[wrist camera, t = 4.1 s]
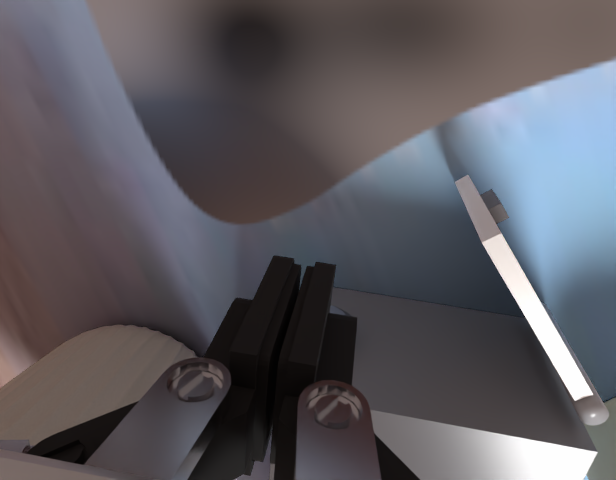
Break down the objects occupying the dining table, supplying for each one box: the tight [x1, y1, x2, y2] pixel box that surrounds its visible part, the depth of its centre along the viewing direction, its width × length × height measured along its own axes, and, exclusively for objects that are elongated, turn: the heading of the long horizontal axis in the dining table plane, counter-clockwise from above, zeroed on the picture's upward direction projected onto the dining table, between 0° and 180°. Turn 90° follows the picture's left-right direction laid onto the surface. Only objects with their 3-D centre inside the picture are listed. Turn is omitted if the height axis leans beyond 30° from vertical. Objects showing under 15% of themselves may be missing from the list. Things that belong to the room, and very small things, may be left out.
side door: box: [455, 175, 609, 425], centre depth 23 cm, size 10×2×8 cm, turn 35°
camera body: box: [269, 287, 598, 480], centre depth 26 cm, size 14×11×11 cm
